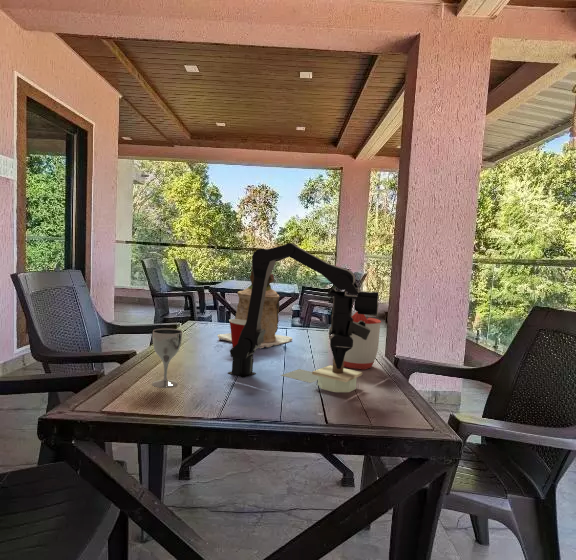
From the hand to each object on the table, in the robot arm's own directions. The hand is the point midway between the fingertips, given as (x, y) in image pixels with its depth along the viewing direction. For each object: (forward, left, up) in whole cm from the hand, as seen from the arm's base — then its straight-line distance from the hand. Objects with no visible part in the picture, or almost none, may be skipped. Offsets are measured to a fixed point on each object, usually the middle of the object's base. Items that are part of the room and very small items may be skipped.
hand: (338, 364), depth 137 cm
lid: (0, 0, -3) cm, 3 cm away
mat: (+3, +13, -7) cm, 15 cm away
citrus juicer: (+30, +8, -7) cm, 32 cm away
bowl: (0, 0, -7) cm, 7 cm away
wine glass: (-33, +37, -7) cm, 50 cm away
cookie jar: (+35, +58, -7) cm, 68 cm away
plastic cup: (+14, +48, -7) cm, 51 cm away
